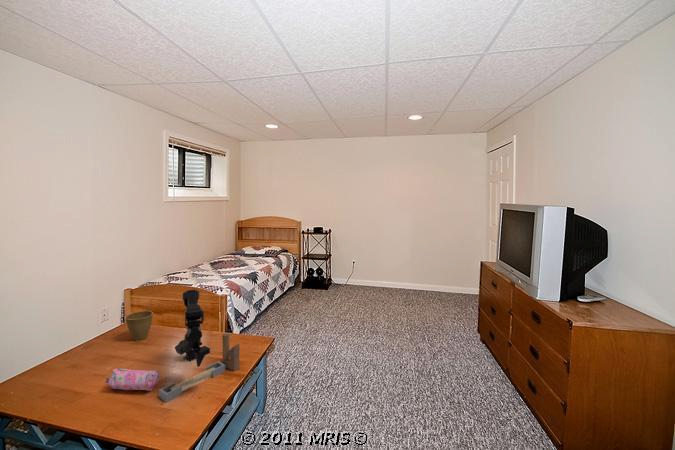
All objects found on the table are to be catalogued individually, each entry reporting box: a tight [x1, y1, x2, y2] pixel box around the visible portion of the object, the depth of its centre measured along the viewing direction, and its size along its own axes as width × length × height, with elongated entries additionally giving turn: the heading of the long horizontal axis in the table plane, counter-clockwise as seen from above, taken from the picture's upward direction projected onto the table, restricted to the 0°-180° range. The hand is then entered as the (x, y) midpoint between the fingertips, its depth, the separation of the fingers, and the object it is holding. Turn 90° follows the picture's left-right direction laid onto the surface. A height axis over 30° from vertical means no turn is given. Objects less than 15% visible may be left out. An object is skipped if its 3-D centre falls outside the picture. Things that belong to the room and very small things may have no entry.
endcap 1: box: [158, 381, 183, 403], centre depth 132 cm, size 6×7×4 cm
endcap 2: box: [205, 360, 226, 378], centre depth 151 cm, size 6×7×4 cm
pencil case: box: [104, 367, 161, 392], centre depth 137 cm, size 21×9×9 cm, turn 85°
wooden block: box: [220, 332, 240, 372], centre depth 156 cm, size 4×11×18 cm, turn 60°
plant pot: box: [125, 310, 154, 342], centre depth 188 cm, size 15×15×16 cm
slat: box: [170, 367, 215, 392], centre depth 141 cm, size 3×22×3 cm, turn 145°
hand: (194, 363), depth 141 cm, fingers open, 7 cm apart
